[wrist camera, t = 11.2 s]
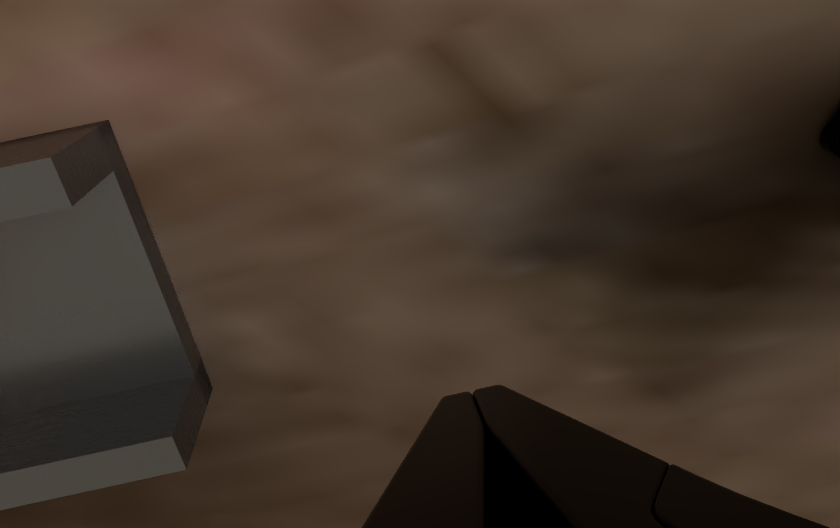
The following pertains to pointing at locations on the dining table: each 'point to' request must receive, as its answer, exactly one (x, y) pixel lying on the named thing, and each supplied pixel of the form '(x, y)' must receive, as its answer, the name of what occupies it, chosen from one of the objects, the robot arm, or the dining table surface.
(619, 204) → the dining table surface
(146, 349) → the chute
